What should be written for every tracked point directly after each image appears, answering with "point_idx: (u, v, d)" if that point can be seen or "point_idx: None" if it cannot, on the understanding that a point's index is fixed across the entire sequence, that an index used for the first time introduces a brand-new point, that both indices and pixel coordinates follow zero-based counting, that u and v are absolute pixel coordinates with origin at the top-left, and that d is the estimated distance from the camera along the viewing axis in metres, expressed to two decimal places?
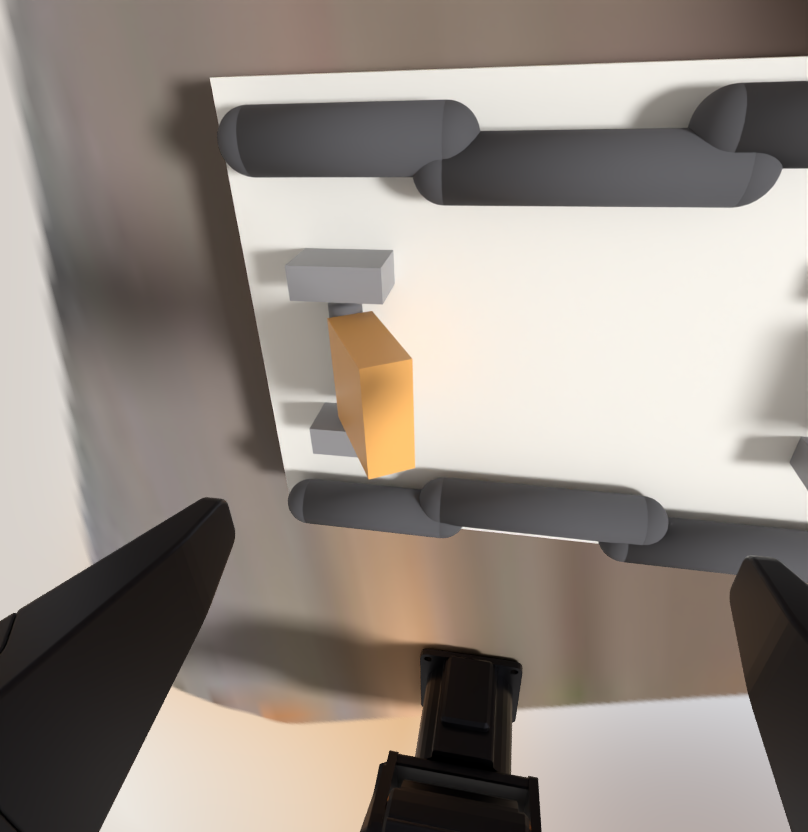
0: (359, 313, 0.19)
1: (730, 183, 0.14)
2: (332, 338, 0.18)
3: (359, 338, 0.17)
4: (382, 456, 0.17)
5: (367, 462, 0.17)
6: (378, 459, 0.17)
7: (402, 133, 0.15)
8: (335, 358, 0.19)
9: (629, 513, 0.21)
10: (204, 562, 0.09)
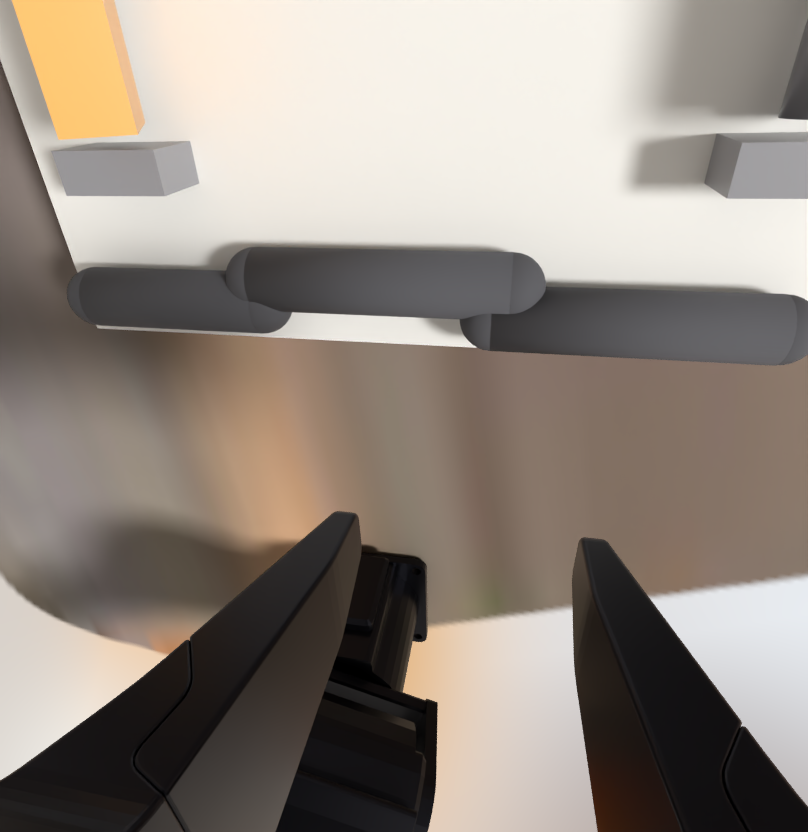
0: None
1: None
2: None
3: None
4: (71, 96, 0.11)
5: (48, 104, 0.11)
6: (65, 101, 0.11)
7: None
8: None
9: (488, 265, 0.15)
10: (344, 580, 0.09)
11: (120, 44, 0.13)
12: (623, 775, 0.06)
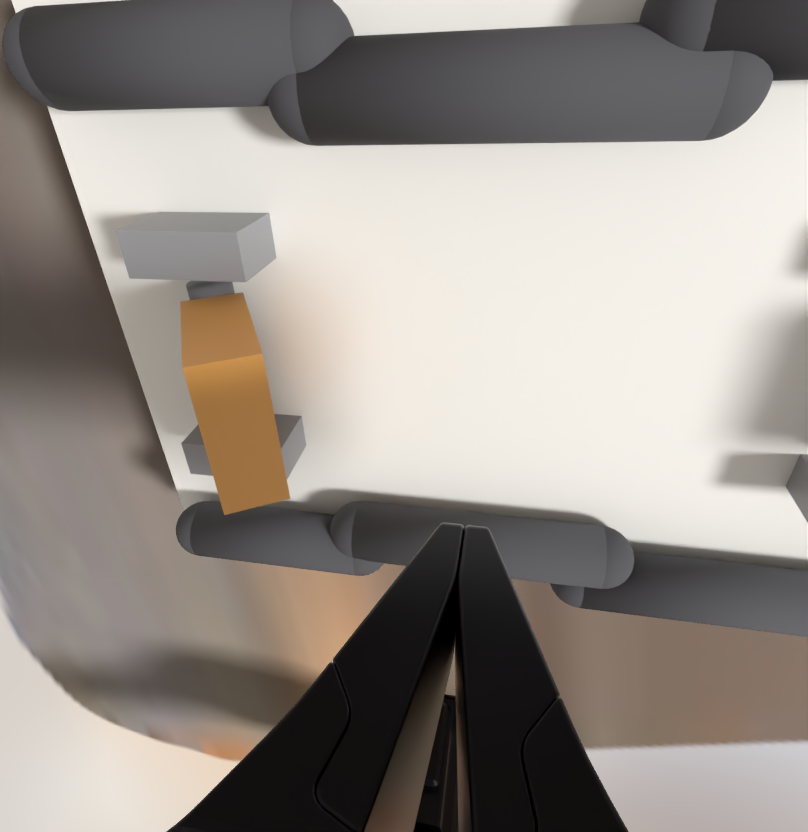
0: (225, 295, 0.14)
1: (698, 99, 0.10)
2: None
3: (206, 326, 0.13)
4: (239, 484, 0.13)
5: (219, 493, 0.13)
6: (234, 489, 0.13)
7: (237, 35, 0.11)
8: None
9: (584, 549, 0.17)
10: None
11: None
12: (461, 746, 0.07)
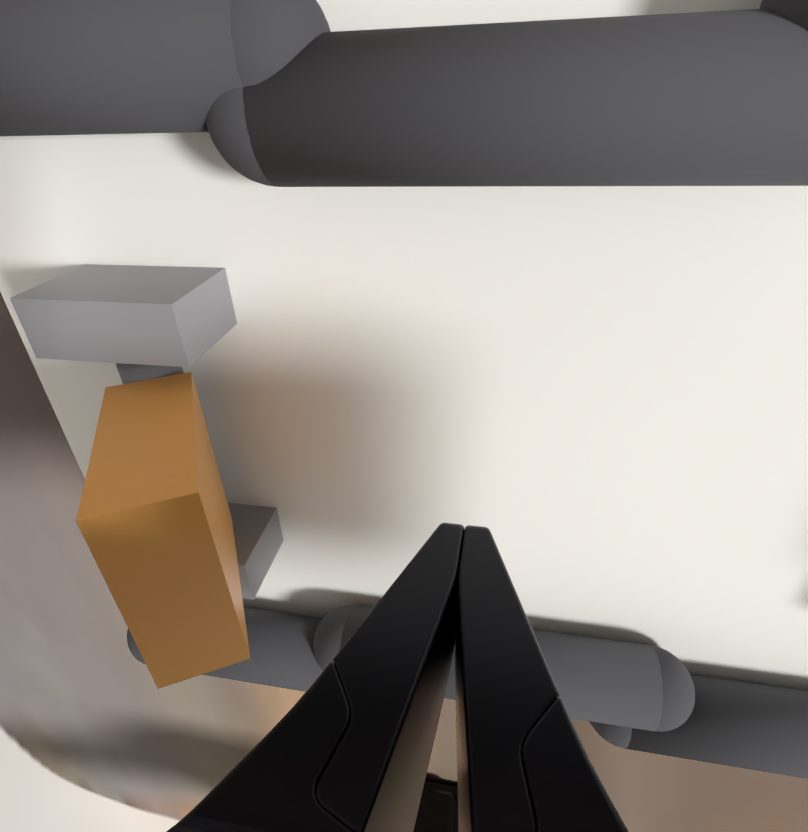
0: (167, 377, 0.11)
1: None
2: None
3: (130, 435, 0.09)
4: (177, 652, 0.09)
5: (148, 664, 0.09)
6: (169, 657, 0.09)
7: (153, 31, 0.07)
8: None
9: (633, 685, 0.13)
10: None
11: (222, 519, 0.11)
12: (461, 746, 0.07)
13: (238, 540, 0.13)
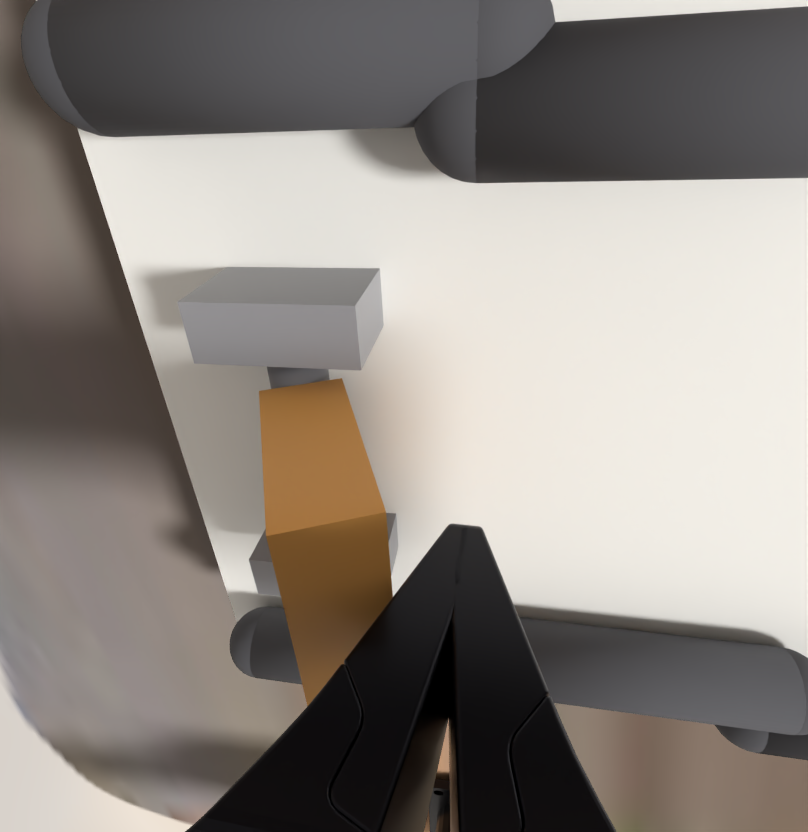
0: (318, 382, 0.11)
1: None
2: None
3: (297, 444, 0.09)
4: (332, 672, 0.09)
5: (303, 682, 0.09)
6: (324, 677, 0.09)
7: (391, 21, 0.07)
8: None
9: (773, 688, 0.13)
10: None
11: None
12: (452, 745, 0.07)
13: None
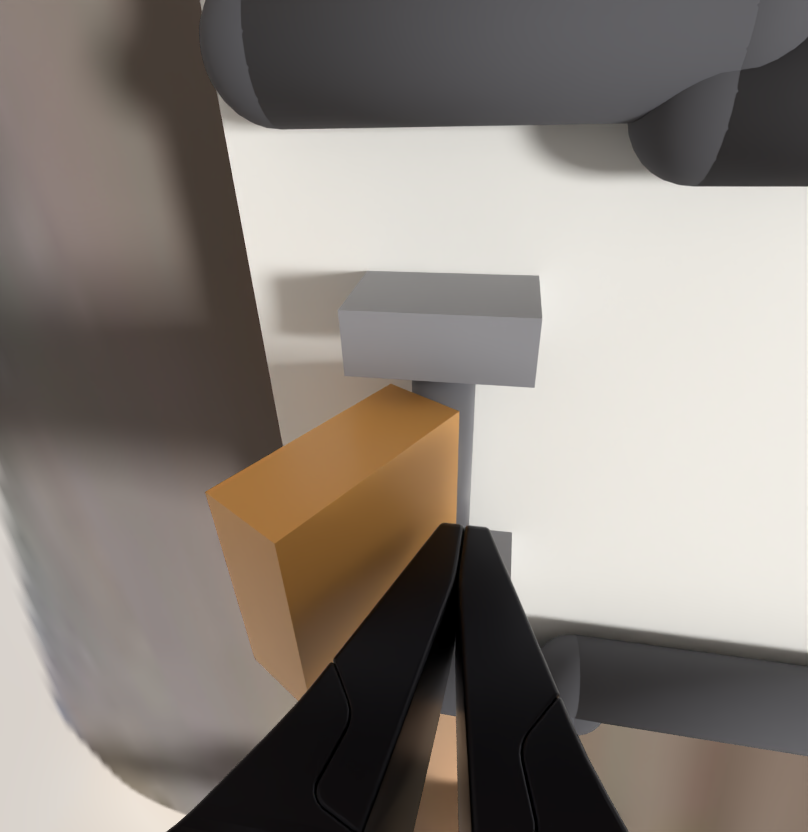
0: (438, 403, 0.10)
1: None
2: None
3: (332, 443, 0.09)
4: (264, 648, 0.09)
5: (250, 635, 0.10)
6: (260, 647, 0.09)
7: (652, 3, 0.06)
8: None
9: None
10: None
11: (386, 572, 0.09)
12: (461, 747, 0.07)
13: None
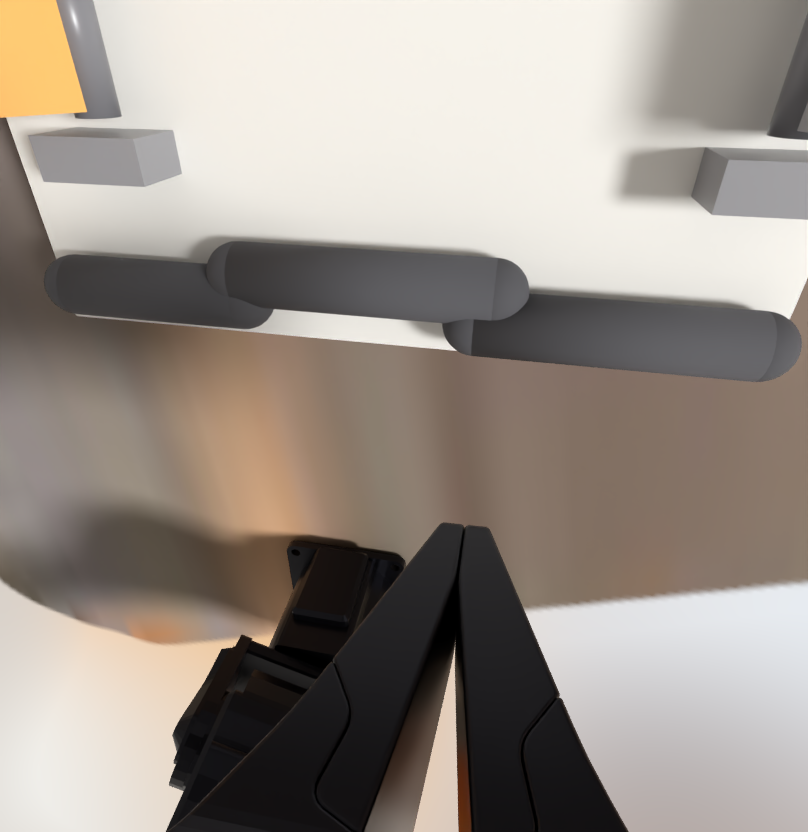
0: None
1: None
2: None
3: None
4: None
5: None
6: None
7: None
8: None
9: (472, 271, 0.15)
10: None
11: None
12: (461, 746, 0.07)
13: (132, 135, 0.15)
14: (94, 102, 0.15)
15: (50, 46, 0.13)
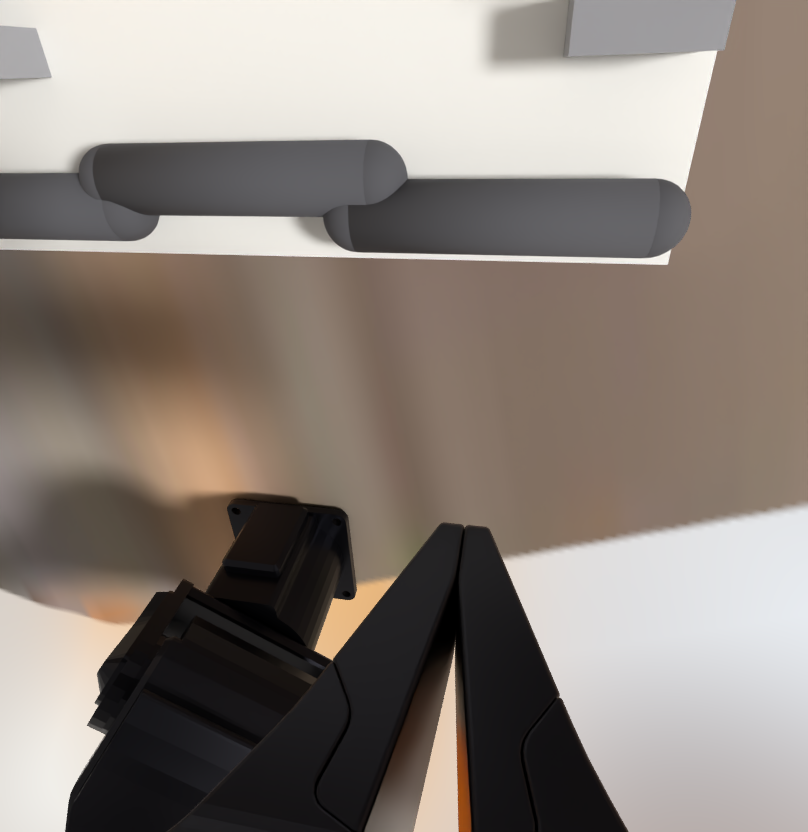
0: None
1: None
2: None
3: None
4: None
5: None
6: None
7: None
8: None
9: (341, 151, 0.14)
10: None
11: None
12: (461, 747, 0.07)
13: None
14: None
15: None
